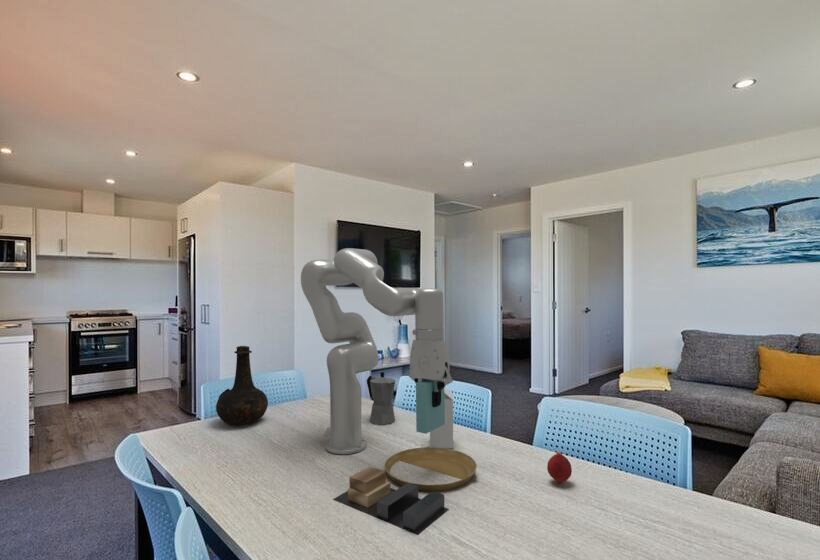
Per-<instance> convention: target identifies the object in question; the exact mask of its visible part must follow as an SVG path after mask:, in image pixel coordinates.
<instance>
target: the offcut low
mask: <svg viewBox="0 0 820 560" xmlns="http://www.w3.org/2000/svg"><path fill="white" fill-rule="evenodd" d="M390 488H391V482H390V481H387V480H386V482H385V483H384V484H382V485H380V486H378V487H377V488H375V489H373V490H372V491H370V492H368V493H367V494H365V493H362V492H359V491H357V490H354V489H352V488H350V487H348V488H347V491H348V500H350V501H353V502H355V503H358V504H360V505H363V506H365V507H369V506H371V505H372V504H374V503H376V502H377V501H379V500H380V499H382V498H384V497H385V496H387V495H388V494H390Z"/></svg>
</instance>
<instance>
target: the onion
mask: <svg viewBox="0 0 820 560" xmlns="http://www.w3.org/2000/svg"><path fill="white" fill-rule="evenodd" d="M546 465H547V466H546V469H547V472H548V474H549V476H550V477H551V478H552V479H553V480H554V481H555V482H556V483H557V484H562V483H564V482H567V481H568V480H569V479H570V478H571V476H572V473H573V472H572V465H571V462H570V461H569V459H568V458H567V457H566V456H564V455H563V454H562V453H561V452H560V451H559V450H556V452H555V454H553V455H552V456H551V457H550V458H549V459H548V461H547V464H546Z"/></svg>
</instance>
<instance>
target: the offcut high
mask: <svg viewBox="0 0 820 560" xmlns="http://www.w3.org/2000/svg"><path fill="white" fill-rule="evenodd" d="M386 475H387V472H386V470H382V469H380V468H376V467H373V466H368V467H366V468H364V469H362V470H361V471H359V472H356V473H354V474H352V475H351V476H349V488H352V489H354V490H357V491H359V492H362V493H365V494H367V493H368V492H370V491H372V490H373V489H375V488H377V487H378V486H380V485H382V484H384V483H385V482H386V481H387V479H386V477H387V476H386Z"/></svg>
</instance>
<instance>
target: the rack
mask: <svg viewBox="0 0 820 560" xmlns="http://www.w3.org/2000/svg"><path fill="white" fill-rule="evenodd" d="M411 483H412V482H410V483H406V484H405V485H403V486H400V487H399V488H397V489H394V488H391V487H390V494H388V495H387V496H385V497H384V498H382V499H380V500H379V501H377V502H376V503H374V504H372V505H371V506H369V507H365V506H363V505H360V504H358V503H355V502H353V501H350V500H348V490H347V491H345V492H343V493H341V494H340V495H338V496H335V497H333V498H332V500H333V501H335V502H338V503H339V504H342V505H345V506H347V507H349V508H352V509H355V510H357V511H359V512H362V513H364V514H365V515H369V516H371V517H373V518H376V519H378V520H381V521H383V522H385V523H388V524H390V525H393V526H395V527H398V528H400V529H401V530H404V531H407V532H409V533H411V534H413V535H416V536H419V535H420V534H421V533H422V532H423V531H425V530H426V529H427V528H429V527H430V526H431V525H432V524H433V523H435V522H436V521H437V520H438V519H439V518H441V517H442V516H443V515H445V513H447V512H448V511H449V510H450V508H448V507H445V494H443V493H440V492H438V491H430V492H429V493H428V494H426V495H425V496H424V497H422V498H420V497H419V490H418V486H417V485H414V484H411Z"/></svg>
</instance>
